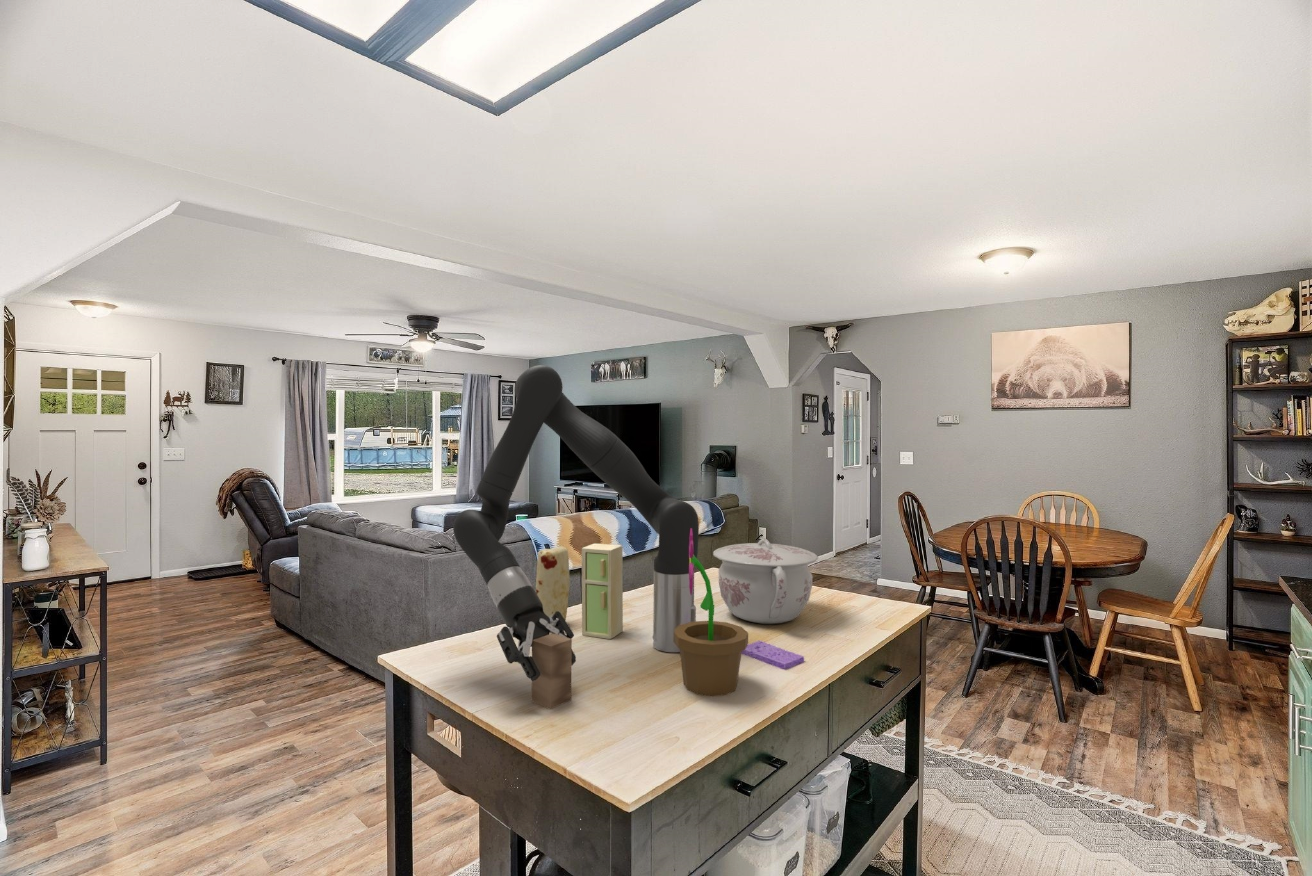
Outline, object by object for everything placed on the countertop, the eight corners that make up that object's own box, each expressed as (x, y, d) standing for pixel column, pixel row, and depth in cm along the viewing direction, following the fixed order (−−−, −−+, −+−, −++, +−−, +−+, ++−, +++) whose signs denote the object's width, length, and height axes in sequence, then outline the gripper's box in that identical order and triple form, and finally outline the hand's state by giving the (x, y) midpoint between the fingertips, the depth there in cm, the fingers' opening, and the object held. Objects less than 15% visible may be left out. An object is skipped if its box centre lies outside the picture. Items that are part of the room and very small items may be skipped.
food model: (548, 635, 148) (548, 551, 147) (528, 629, 151) (528, 548, 151) (575, 624, 156) (576, 545, 155) (555, 620, 159) (556, 542, 159)
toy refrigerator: (579, 636, 147) (580, 547, 147) (593, 627, 154) (594, 542, 154) (609, 640, 144) (610, 550, 144) (623, 631, 151) (623, 545, 151)
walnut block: (552, 691, 116) (552, 633, 115) (571, 699, 112) (571, 638, 112) (531, 700, 112) (532, 640, 111) (550, 708, 108) (550, 646, 108)
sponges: (759, 648, 142) (759, 639, 141) (805, 664, 132) (805, 655, 132) (738, 655, 137) (738, 646, 137) (784, 672, 127) (784, 663, 127)
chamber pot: (742, 597, 183) (743, 527, 183) (833, 613, 167) (834, 537, 167) (691, 620, 160) (692, 540, 160) (790, 641, 144) (791, 553, 144)
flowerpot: (673, 669, 127) (674, 523, 127) (743, 671, 126) (745, 524, 126) (672, 700, 113) (674, 535, 112) (752, 701, 112) (753, 536, 112)
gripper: (492, 592, 111) (534, 671, 104) (552, 578, 122) (593, 649, 115) (474, 616, 114) (513, 694, 107) (534, 600, 126) (573, 670, 119)
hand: (555, 671), depth 111 cm, fingers open, 8 cm apart
